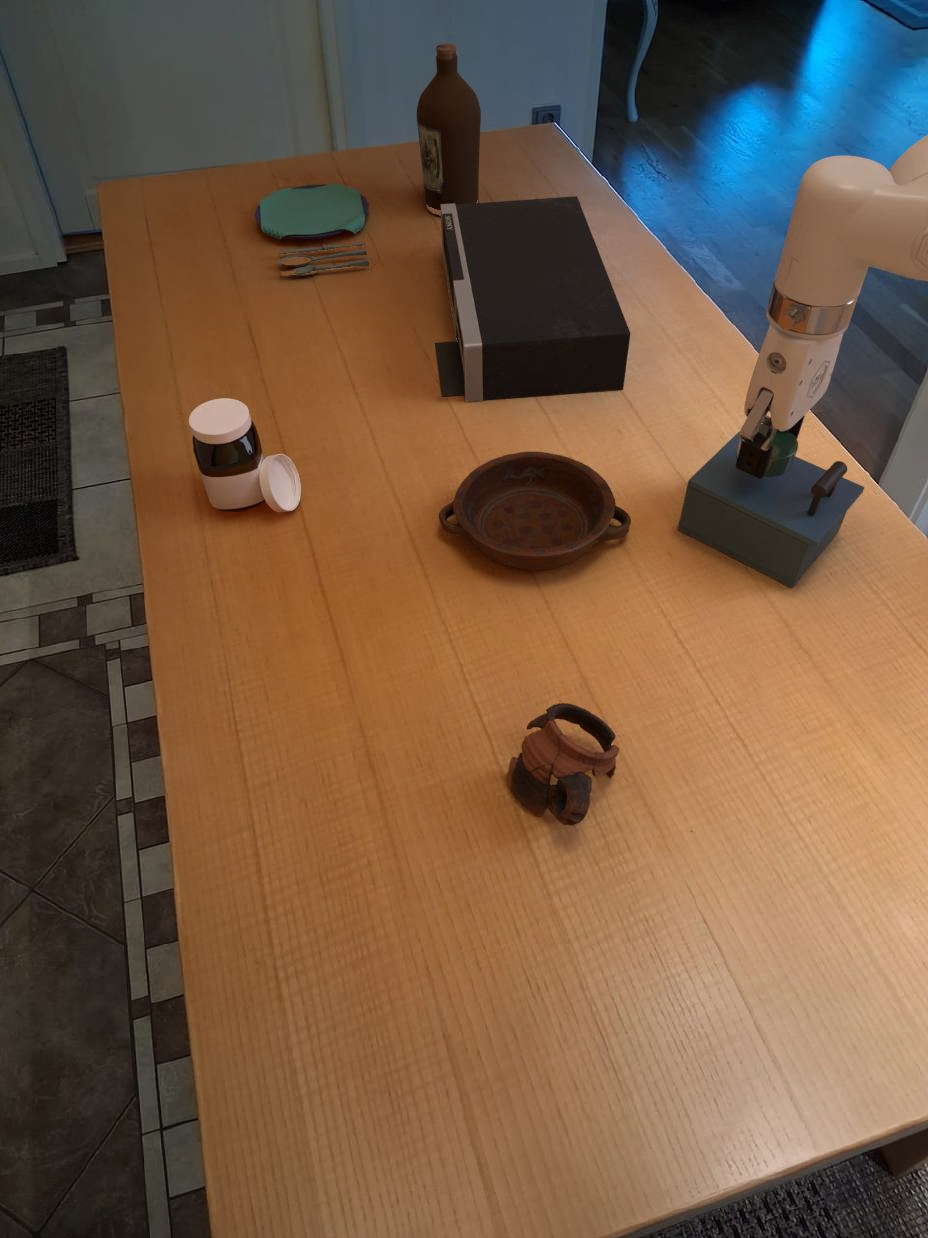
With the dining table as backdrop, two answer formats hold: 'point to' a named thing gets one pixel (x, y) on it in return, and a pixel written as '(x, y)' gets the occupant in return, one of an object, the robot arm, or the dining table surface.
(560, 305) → the video player
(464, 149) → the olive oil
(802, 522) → the lunchbox lid
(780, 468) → the dark green puck
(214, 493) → the spread jar
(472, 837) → the dining table surface
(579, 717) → the brown hollow curved piece
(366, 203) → the cutlery set
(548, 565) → the dish
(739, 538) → the lunchbox
